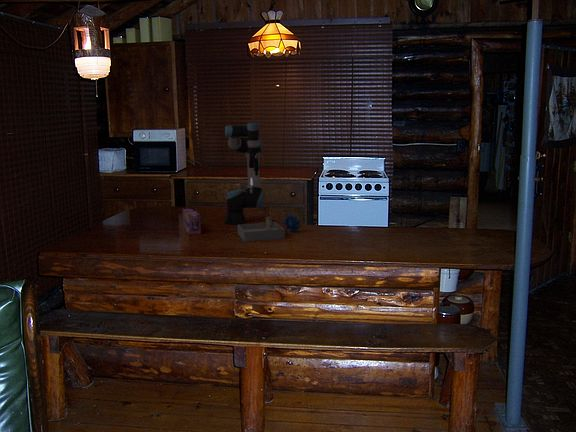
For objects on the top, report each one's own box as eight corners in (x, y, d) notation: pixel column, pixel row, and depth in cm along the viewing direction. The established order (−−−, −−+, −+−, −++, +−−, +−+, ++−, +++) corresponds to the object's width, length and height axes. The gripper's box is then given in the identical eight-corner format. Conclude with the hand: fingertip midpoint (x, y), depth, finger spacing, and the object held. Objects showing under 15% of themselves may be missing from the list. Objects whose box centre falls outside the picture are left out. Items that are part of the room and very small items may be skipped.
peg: (265, 235, 373) (265, 216, 371) (271, 234, 374) (271, 216, 372) (266, 236, 369) (266, 218, 367) (272, 236, 370) (272, 217, 368)
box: (237, 233, 377) (237, 224, 376) (276, 230, 384) (275, 222, 383) (244, 241, 356) (244, 232, 355) (284, 238, 363) (284, 229, 362)
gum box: (201, 234, 377) (201, 213, 374) (190, 235, 374) (189, 214, 372) (194, 226, 399) (193, 207, 396) (183, 227, 396) (182, 208, 394)
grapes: (282, 233, 378) (282, 215, 375) (283, 230, 384) (283, 213, 382) (299, 233, 376) (299, 215, 373) (301, 231, 382) (301, 213, 380)
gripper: (243, 145, 386) (244, 176, 390) (251, 148, 362) (252, 181, 366) (254, 145, 388) (255, 176, 392) (263, 148, 364) (263, 181, 368)
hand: (254, 179), depth 379 cm, fingers open, 13 cm apart
